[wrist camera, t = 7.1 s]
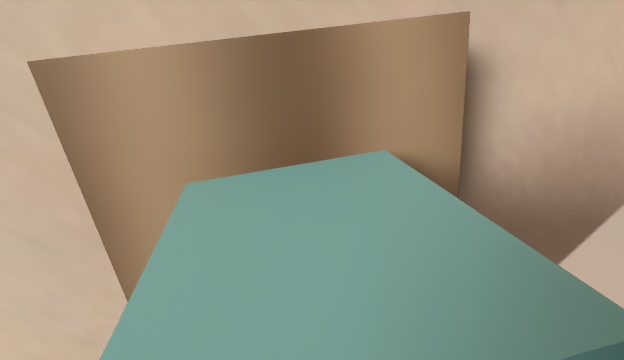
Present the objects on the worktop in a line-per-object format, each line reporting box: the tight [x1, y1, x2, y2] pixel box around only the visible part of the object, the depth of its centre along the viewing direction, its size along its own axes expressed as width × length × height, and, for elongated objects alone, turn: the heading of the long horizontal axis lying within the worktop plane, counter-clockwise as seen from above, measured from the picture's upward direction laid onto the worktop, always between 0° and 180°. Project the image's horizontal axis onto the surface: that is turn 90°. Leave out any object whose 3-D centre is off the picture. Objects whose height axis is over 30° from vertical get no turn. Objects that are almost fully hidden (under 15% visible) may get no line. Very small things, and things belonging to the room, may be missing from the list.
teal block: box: [100, 150, 624, 360], centre depth 6 cm, size 5×5×6 cm
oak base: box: [27, 11, 470, 301], centre depth 11 cm, size 11×11×3 cm
